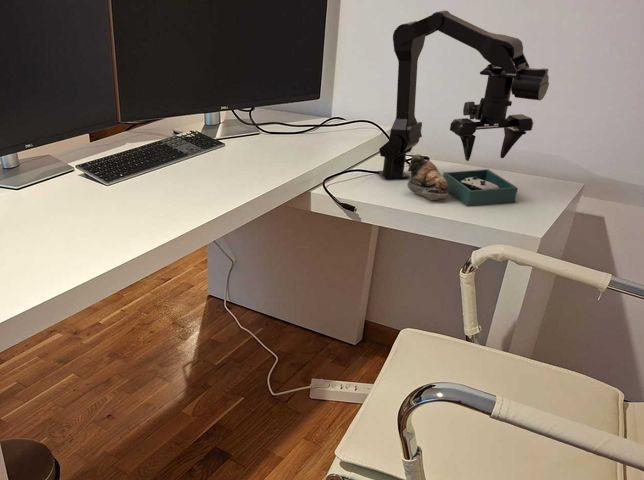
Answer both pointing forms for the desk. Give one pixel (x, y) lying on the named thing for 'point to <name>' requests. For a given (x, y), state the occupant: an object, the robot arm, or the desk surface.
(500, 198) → the bin
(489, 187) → the game controller
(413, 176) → the bison figurine
